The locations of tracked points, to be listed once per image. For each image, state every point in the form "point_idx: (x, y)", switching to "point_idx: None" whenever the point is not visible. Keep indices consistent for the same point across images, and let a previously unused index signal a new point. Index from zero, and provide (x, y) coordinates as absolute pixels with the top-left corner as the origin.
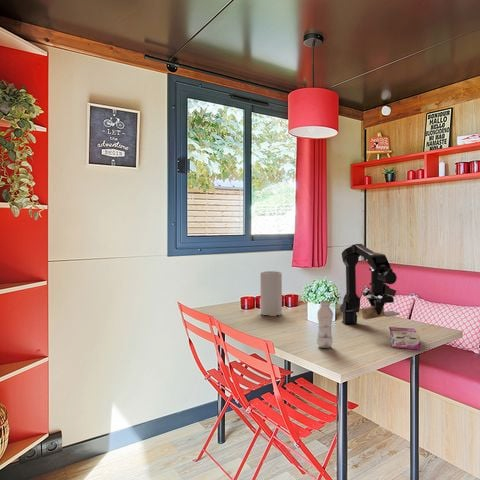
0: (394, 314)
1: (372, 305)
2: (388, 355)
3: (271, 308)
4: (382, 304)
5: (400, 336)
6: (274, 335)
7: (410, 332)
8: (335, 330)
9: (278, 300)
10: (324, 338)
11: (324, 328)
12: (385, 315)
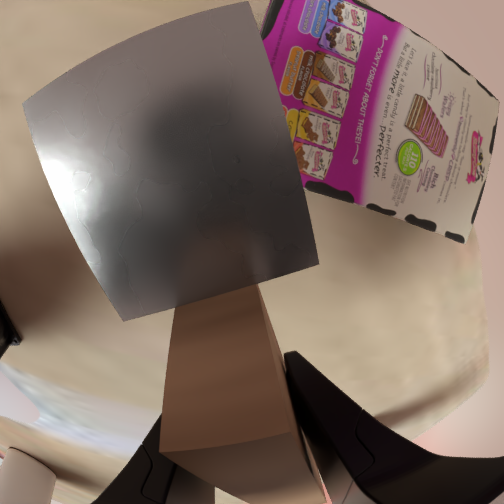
0: (282, 107)
1: (213, 497)
2: (477, 271)
3: (48, 488)
4: (413, 471)
5: (474, 196)
6: (228, 496)
7: (411, 67)
8: (127, 405)
9: (28, 494)
10: None
11: None
12: (287, 272)
